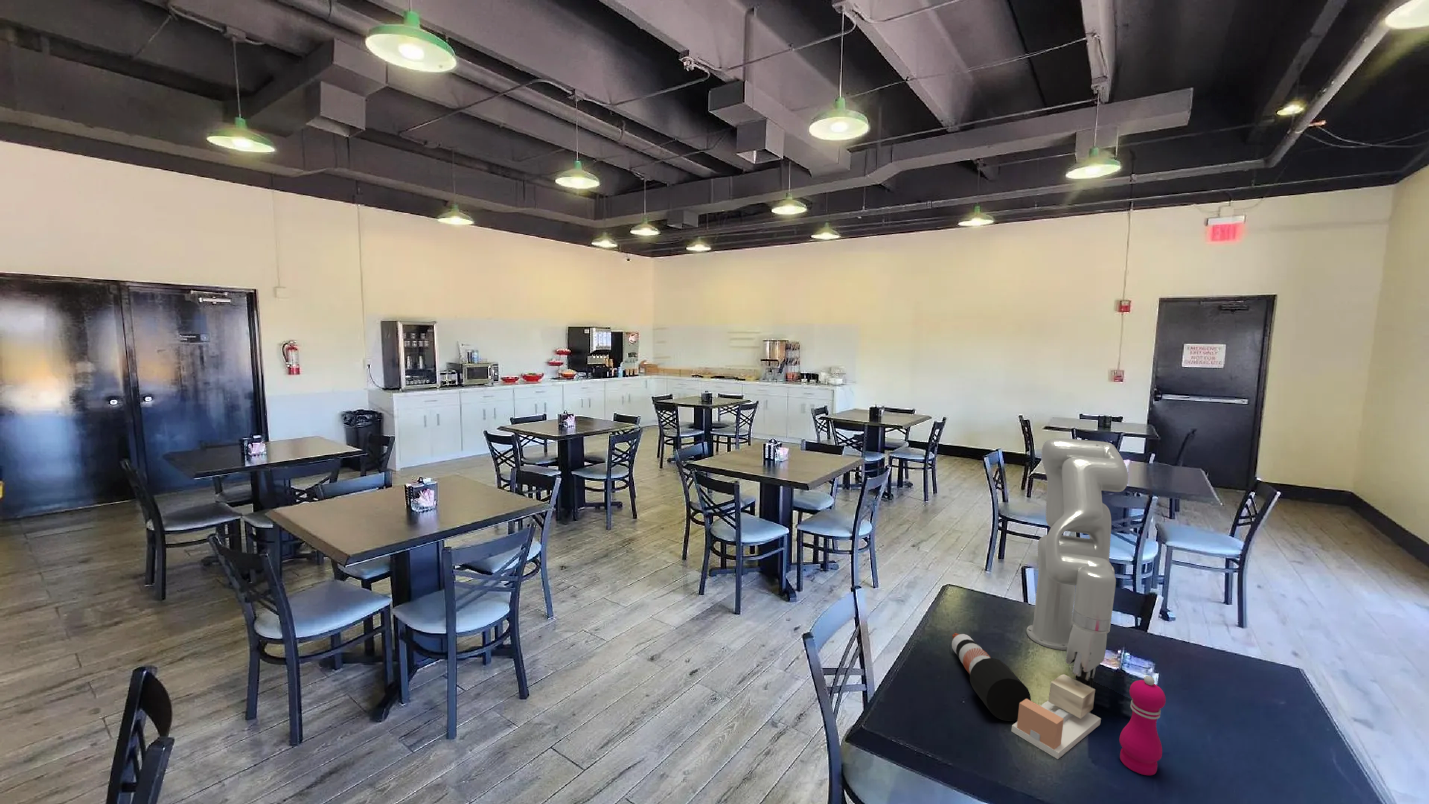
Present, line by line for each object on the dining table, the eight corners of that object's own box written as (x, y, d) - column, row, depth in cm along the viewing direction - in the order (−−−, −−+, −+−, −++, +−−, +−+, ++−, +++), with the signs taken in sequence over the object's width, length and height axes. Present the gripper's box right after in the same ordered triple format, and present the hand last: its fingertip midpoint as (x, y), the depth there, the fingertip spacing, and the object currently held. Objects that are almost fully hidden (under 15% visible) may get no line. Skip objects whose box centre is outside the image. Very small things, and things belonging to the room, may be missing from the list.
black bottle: (962, 659, 166) (980, 630, 166) (1016, 729, 133) (1039, 692, 132) (931, 642, 167) (949, 612, 166) (978, 707, 133) (1000, 670, 132)
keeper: (1060, 693, 139) (1063, 673, 139) (1092, 709, 134) (1095, 689, 133) (1048, 701, 136) (1050, 682, 135) (1080, 718, 130) (1083, 698, 130)
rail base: (1055, 700, 142) (1058, 672, 141) (1100, 724, 133) (1103, 694, 132) (1011, 731, 130) (1014, 700, 129) (1057, 759, 122) (1061, 727, 121)
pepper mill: (1108, 752, 125) (1119, 666, 122) (1139, 751, 125) (1151, 665, 123) (1135, 778, 117) (1147, 688, 115) (1168, 777, 118) (1181, 687, 115)
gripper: (1088, 605, 143) (1080, 673, 145) (1059, 621, 134) (1051, 694, 137) (1123, 618, 137) (1113, 689, 139) (1094, 636, 128) (1085, 711, 131)
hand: (1082, 691), depth 138 cm, fingers closed
